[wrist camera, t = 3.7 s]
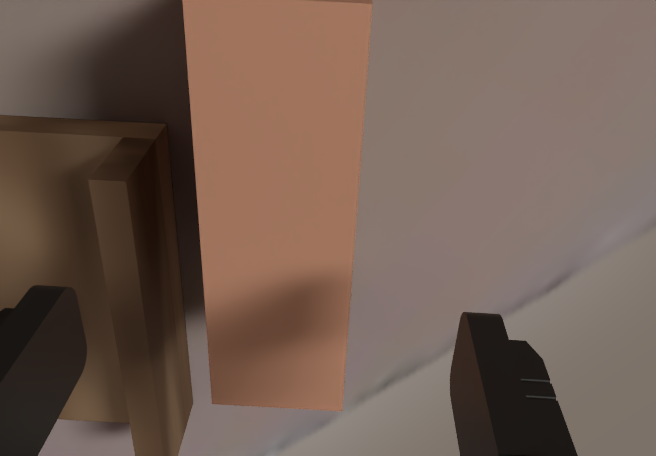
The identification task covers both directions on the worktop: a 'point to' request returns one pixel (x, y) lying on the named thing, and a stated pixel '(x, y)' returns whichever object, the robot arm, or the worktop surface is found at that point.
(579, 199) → the worktop surface
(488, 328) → the robot arm
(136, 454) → the book rack
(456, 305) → the worktop surface
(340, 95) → the rust book
